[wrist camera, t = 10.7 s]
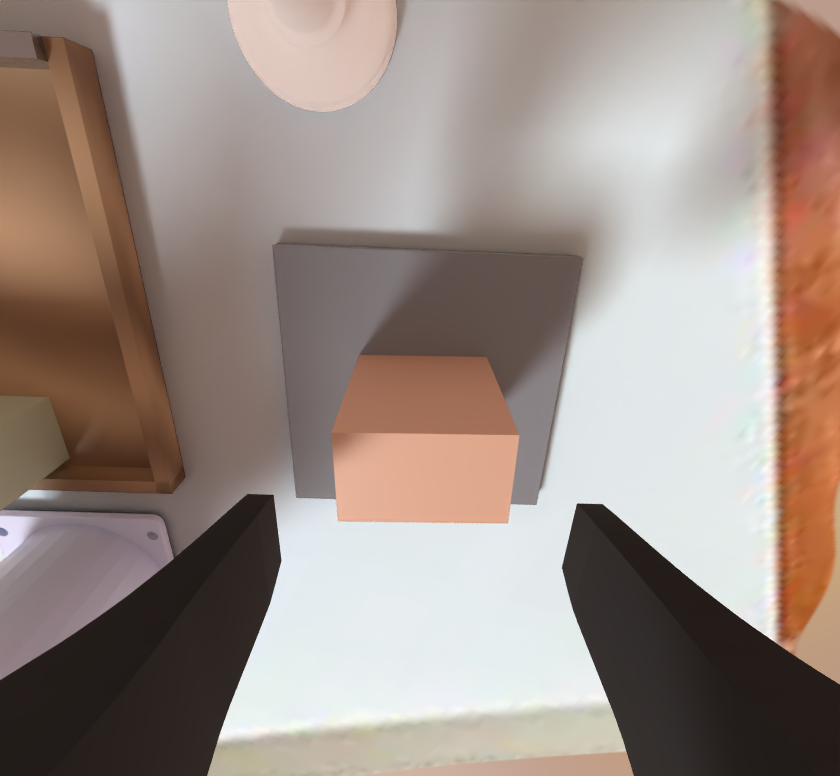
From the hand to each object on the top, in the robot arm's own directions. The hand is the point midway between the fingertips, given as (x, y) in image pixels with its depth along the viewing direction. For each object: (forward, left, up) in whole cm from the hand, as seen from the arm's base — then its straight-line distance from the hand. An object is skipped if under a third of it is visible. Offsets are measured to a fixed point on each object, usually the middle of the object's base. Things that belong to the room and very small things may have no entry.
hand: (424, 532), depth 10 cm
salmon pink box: (0, 0, -8) cm, 8 cm away
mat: (0, 0, -8) cm, 8 cm away
